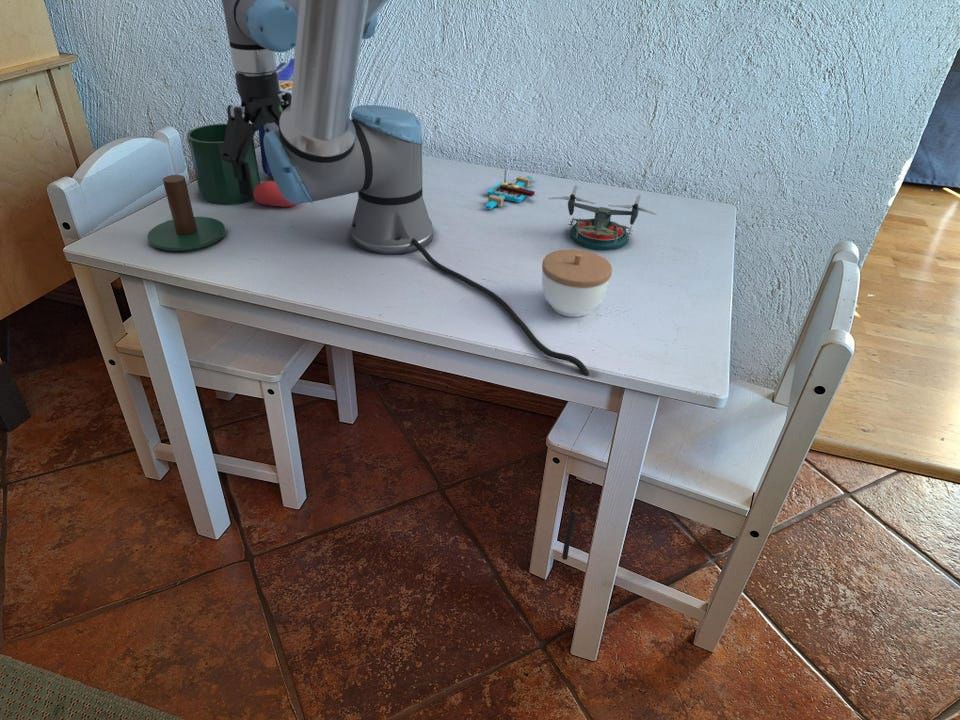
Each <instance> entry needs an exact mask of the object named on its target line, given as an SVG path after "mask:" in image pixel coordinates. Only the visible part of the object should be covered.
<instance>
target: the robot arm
mask: <svg viewBox="0 0 960 720" xmlns="http://www.w3.org/2000/svg"><path fill="white" fill-rule="evenodd" d="M389 1H390V0H221V2H222V9H223V14H224V20H225V27H226V32H227V37H228V42H229V48H230V55H231V60H232V67H233V70H234V71H236V72H235V74H234V78H235V85H236V91H237V93H238V95H239V97H240V101H241V102H240V105H232V104H229V105H227V107H226V110H227V122H226V124H227V128H226V133H225V139H224V144H223V150H222V155H221V159H222V160H223V161H226V162H229V163H232V165H233V170H234V176H235V178H236V179H238V183H239V188H240V193H241V194H243V195H246V196H249V197H251V196H253V190H252V184H251V179H250V173H249V167H248V163H247V162H244V160H245V157H246V154H247V152H248V149H249V147H250V144H251V142H252V139H253V140H254V136H255V134H256V132H258V129H259V127H260V126H264V125H266V124H267V123H273V122H274V123H275V124H276V125H277V126H278V127H279V130H278V131H274V130H271V132H268V133H266V134H265V135H264V139H263V141H264V149H265V154H266V158H267V161H268V165H269V168H270V170H271V173H272V178H273V181H275V183H276V185H277V187H278V189H279V191H280V192H281V194H282V196H283V197H284V198H285V199H286V200H287V201H288V202H291V203H293V204H296V205H297V204H298V205H299V204H306V203H310V204H312V203H314V202H318V201H323V200H327V199H332V198H336V197H341V196H345V195H351V194H354V193H355V194H356V193H357V202H356V206H355V210H354V213H353V214H354V215H353V217H352V222H351V227H350V234H351V235H350V236H351V240H352V242H353V243H354V245H355V246H357V247H359V248H360V249H362V250H365V251H367V252H372V253H376V254H383V255H397V254H398V255H399V254H406V253H411V252H416V251H419V253H421V254H422V255H423V257H424V258H425V259H426V261H427V262H429V264H430V265H432V266H433V267H435V268H436V269H437V270H439V271H440V272H442V273H445V274H447V275H449V276H451V277H453V278H455V279H457V280H459V281H461V282H463V283H464V284H466V285H468V286H469V287H472V288H474V289H475V290H478V291H480V292H481V293H483V294H484V295H487V297H489V298H491V299H492V300H493V301H495V303H497V304H498V305H499V306H500V307H501V308H502V309H503V310H504V311H505V312H506V313H507V314H508V315H509V317H510V318H511V319H512V321H514V323H515V324H516V325H517V326H518V327H519V328H520V329H521V331H522V332H523V333H524V335H525V336H526V338H527V339H528V341H530V343H531V344H532V345H534V347H535V348H536V349H538V350H539V351H540V352H541V353H543V354H544V355H546V356H547V357H550V358H553V359H556V360H561V361H565V362H569V363H571V364H573V365H575V367H576V368H578V369H579V371H580V372H581V374H582V375H583V376H586V377H589V376H590V375H591V374H590V372H589V370H588V368H587V367H586V365H585V364H584V363H583V362H582V361H581V360H580V359H578V358H577V357H576V356H573V355H569V354H567V353H563V352H557V351H553V350H551V349H549V348H548V347H547V346H546V345H544V344H543V343H542V342H541V341H540V340H539V339H538V338H537V337H536V336H535V335H534V333H533V332H532V331H531V329H530V328H529V326H527V324H526V323H525V322H524V321H523V320H522V319H521V317H519V316H518V315H517V313H516V312H515V311H514V310H513V308H511V306H510V305H509V304H508V303H507V302H506V301H505V300H504V299H502V298H501V297H500V296H499V295H497V294H496V293H495V292H493V291H492V290H490V289H489V288H487V287H485V286H483V285H481V284H480V283H478V282H476V281H474V280H472V279H470V278H468V277H466V276H465V275H463V274H461V273H459V272H457V271H455V270H453V269H451V268H448V267H446V266H444V265H443V264H441V263H439V262H438V261H437V260H436V259H434V258H433V256H431V255H430V253H429V252H428V251H427V250H426V249H425V247H426V246H427V245H429V244H430V243H431V242H432V240H433V237H434V228H433V223H432V220H431V218H430V215H429V212H428V210H427V206H426V202H425V199H424V196H423V144H424V140H423V132H422V124H421V121H420V120H419V118H418V116H417V115H416V114H414V113H412V112H410V111H408V110H405V109H401V108H398V107H393V106H389V105H388V106H387V105H379V104H361V105H357V106H354V107H353V108H351V107H352V103H353V96H354V90H355V83H356V77H357V71H358V67H359V66H358V65H359V59H360V53H361V47H362V46H361V45H362V41H363V40H367V39H371V38H372V37H373V36H374V35H375V34H376V28H377V27H378V12H379V11H380V10H381V9H382V8H383V7H384V6H385V5H386V4H387V3H388V2H389ZM292 49H293V50H294V56H293V57H294V58H293V59H294V70H293V84H292V95H291V93H288V92H284V91H280V87H279V79H278V73H276V71H275V70H276V69H277V67H278V63H277V58H276V53H286V52H289V51H291V50H292ZM280 105H281V107H282V109H283V112H282V113H281V112H280V111H279V110H278V109H279V106H280ZM351 109H352V110H351ZM576 515H577V513H576V512H574V511H572V510H570V512H569V517H568V521H567V526H566V532H565V536H564V537H565V538H564V543H563V547H562V548H563V549H562V556H561V558H562V560H564V561H566V560H568V558H569V552H570V545H571V539H572V534H573V530H574V525H575V520H576Z"/></svg>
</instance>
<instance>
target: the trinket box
mask: <svg viewBox="0 0 960 720" xmlns="http://www.w3.org/2000/svg"><path fill="white" fill-rule="evenodd" d="M541 269H542V270H541V287H542V292H543V295H544V298H545V299H546V302H547V303H548V304H549V305H550V306H551V307H552V310H554V311H555V313H557V314H559V315H560V316H564V317H568V318H582V317H584V316H586V315H588V314H589V313H590V312H592V311H593V310H595V309H596V308H598V306H600V304H601V303H602V302H603V300H604V298H605V296H606V294H607V291H608V288H609V286H610V285H609V284H610V279H611V277H612V273H613V266H612V265H611V263H610V262H609V261H608V260H607V259H606V258H605V257H603V256H602V255H600V254H597V253H595V252H592V251H589V250H584V249H577V248H566V249H560V250H555V251H552V252H550V253H548V254H546V256H545V257H544V258H543V259H542V264H541Z"/></svg>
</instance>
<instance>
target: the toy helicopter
mask: <svg viewBox="0 0 960 720" xmlns="http://www.w3.org/2000/svg"><path fill="white" fill-rule="evenodd" d="M578 187H579V186H578V185H574V186H573V189H572V191H571V194H570V195H569V196H568V195H565V196H555V197H554V196H553V197H547V200H566V201H567V209H568V214H569V216H573V215H574V211H575V208H578V209H581V210H585V211H588V212H591V213H594V218H575V217H572V218H571V220H569V223H568V225H569V226H570V230H569V238H570V239H571V240H572V241H573V242H574V243H575V244H577V245H578V246H581V247H584V248H587V249H590V250H595V251H596V250H597V251H614V250H618V249H621V248H623V247H625V246H626V245H627V244H628V242H629V236H630V235H633V233H632V232H633V231H634V230H632V228H633V225H634V224H635V222H636V220H637V218H638V217H639V213H640V212H644V213H648V214H651V215H653V216H658V214H657V213H655V212H653V211H650V210H648V209H646V208H644V207H642V206H639V205H640V201H641V197H642V194H637V196H636V198H635V201H634V204H631V205H630V204H608V207H610V208H608V207H603V206H599V207H597V206H593V205H597V204H598V203H597V202H594V201H590V200H587V199H584V198H581V197H578V196H576V195H577V191H578ZM576 201H577V202H576ZM578 202H583V203H578ZM584 203H588V204H591V205H588V204H584ZM611 207H612V208H621V210H620V209H611ZM622 208H623V209H629V210H622ZM630 209H631V210H630ZM639 211H640V212H639ZM612 216H630V219H629V224H630V227H629V226H626V225H621V224H619V223H617V222H616V221H615V222H614V221H611V218H612ZM573 223H575V224H573Z"/></svg>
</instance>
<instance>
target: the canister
mask: <svg viewBox="0 0 960 720" xmlns="http://www.w3.org/2000/svg"><path fill="white" fill-rule="evenodd" d="M226 128H227V123H213V124H207V125H202V126H199V127H198V126H197V127H195V128H193V129H191V130H189V131H188V132H187V133H186V138H187V143H188V146H189V147H188V148H189V151H190V155H191V156H190V157H191V161H192V164H193V169H194V174H195V178H196V183H197V185H198V186H197V187H198V191H199V196H200V198H201V199H202V200H203V201H205V202H207V203H210V204H213V205H214V204H215V205H237V204H243V203H246V202H250V201H252V200H255V199H254V196H251V197H249V196H246V195H243V194H241V193H240V188H239V183H238V179H236V178H235V176H234V170H233V165H232V163H229V162H226V161H223V160H222V159H221V155H222V150H223V144H224V139H225V133H226ZM255 147H256V146H255V139H254V138H253V139H252V142H251V144H250V147H249V149H248V152H247V154H246V157H245V160H244V162H247V163H248V167H249V173H250V179H251V184H252V190H253V191H254V189H255V187H256V186H257V185H258V184H260V183H262V182H261V177H260V176H261V175H260V172H259V166H258V160H257V154H256V153H257V152H256V148H255Z"/></svg>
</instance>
